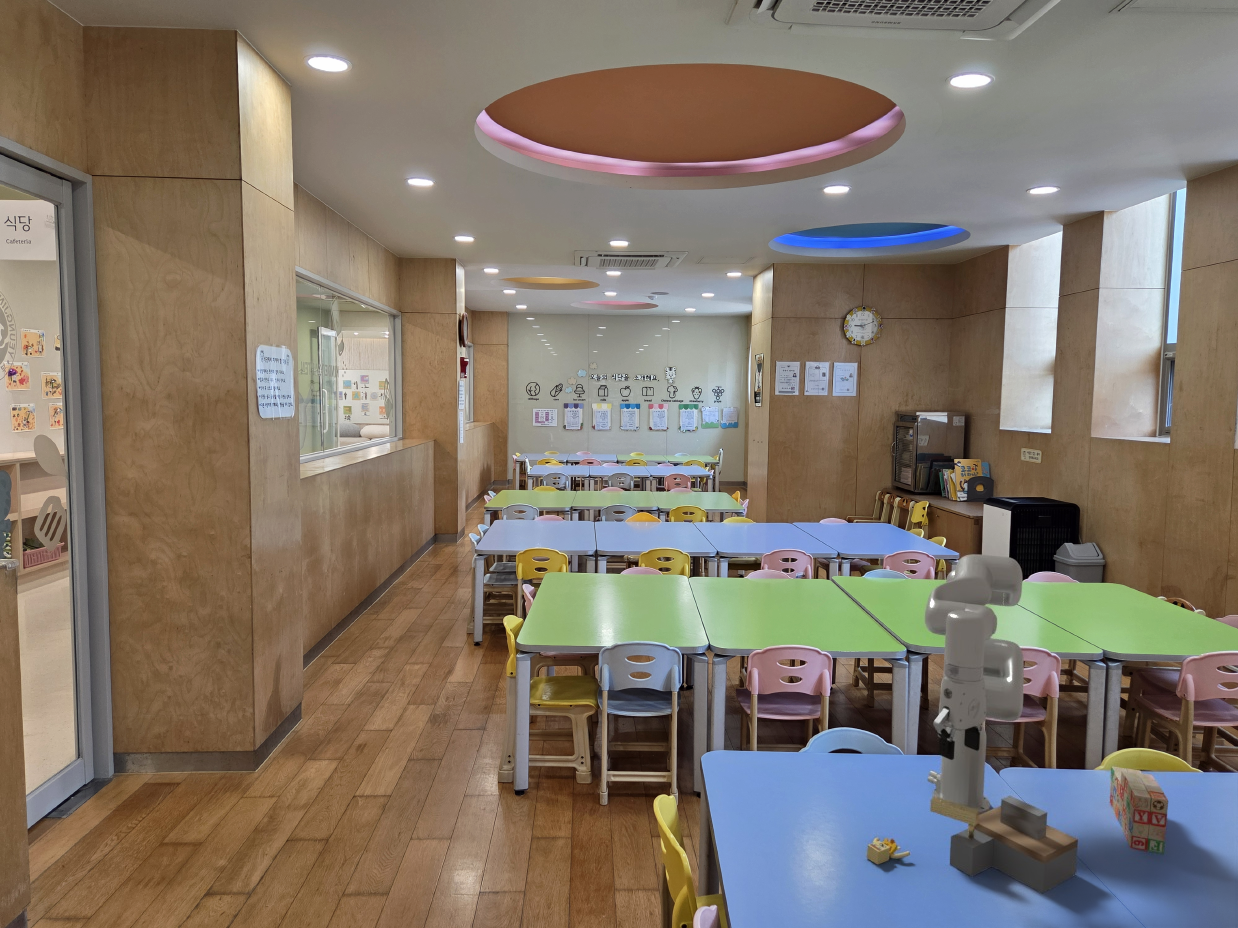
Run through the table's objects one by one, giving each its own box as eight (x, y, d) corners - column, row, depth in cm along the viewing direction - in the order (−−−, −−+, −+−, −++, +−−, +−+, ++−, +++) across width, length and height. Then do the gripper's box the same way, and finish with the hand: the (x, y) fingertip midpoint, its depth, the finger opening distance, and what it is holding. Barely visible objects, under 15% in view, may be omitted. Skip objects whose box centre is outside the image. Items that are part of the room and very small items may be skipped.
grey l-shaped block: (947, 862, 163) (948, 834, 163) (1001, 837, 173) (1002, 811, 173) (1021, 904, 150) (1023, 874, 149) (1075, 874, 160) (1077, 846, 159)
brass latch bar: (974, 840, 160) (976, 814, 160) (929, 824, 166) (930, 799, 165) (977, 836, 162) (978, 810, 161) (932, 820, 167) (933, 795, 167)
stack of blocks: (1108, 802, 190) (1111, 753, 189) (1139, 807, 187) (1142, 757, 186) (1130, 848, 170) (1134, 793, 169) (1164, 855, 167) (1168, 799, 167)
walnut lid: (969, 825, 166) (971, 796, 166) (1002, 811, 173) (1004, 782, 172) (1044, 863, 153) (1046, 831, 152) (1077, 846, 159) (1079, 815, 159)
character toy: (912, 844, 164) (887, 855, 159) (911, 859, 164) (887, 871, 160) (881, 827, 170) (856, 837, 166) (880, 841, 171) (856, 851, 166)
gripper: (953, 683, 156) (949, 769, 157) (1004, 669, 165) (1000, 750, 167) (921, 672, 162) (917, 754, 164) (972, 659, 172) (968, 737, 173)
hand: (959, 752), depth 165 cm, fingers open, 8 cm apart
